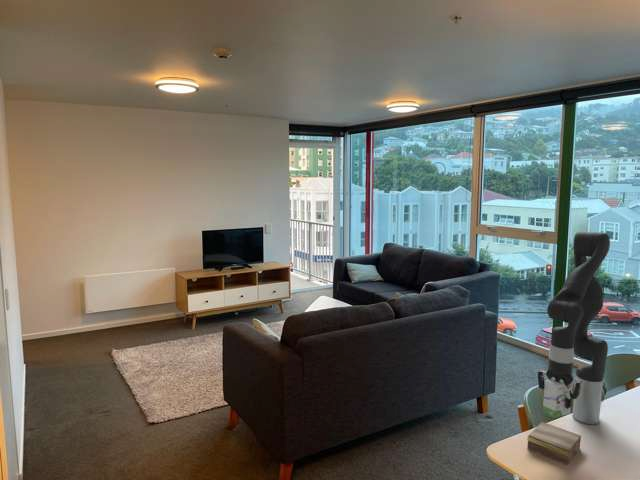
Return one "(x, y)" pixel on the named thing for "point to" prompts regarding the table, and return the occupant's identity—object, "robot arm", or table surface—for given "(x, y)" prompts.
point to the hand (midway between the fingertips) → (557, 404)
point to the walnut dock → (554, 442)
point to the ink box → (555, 399)
